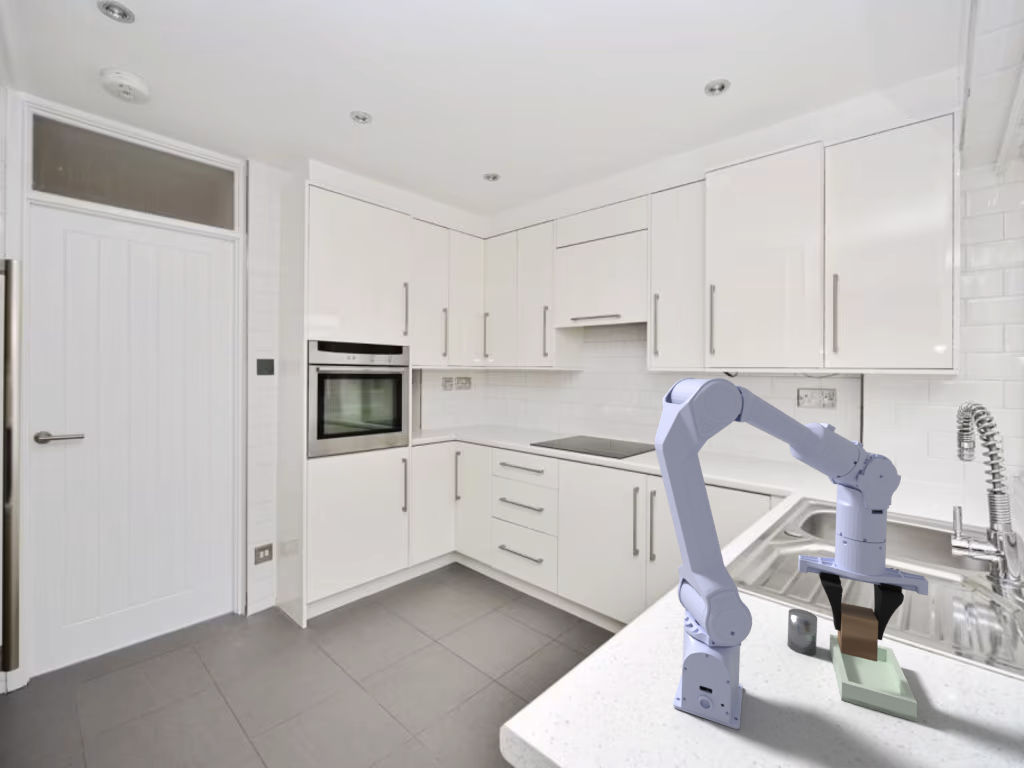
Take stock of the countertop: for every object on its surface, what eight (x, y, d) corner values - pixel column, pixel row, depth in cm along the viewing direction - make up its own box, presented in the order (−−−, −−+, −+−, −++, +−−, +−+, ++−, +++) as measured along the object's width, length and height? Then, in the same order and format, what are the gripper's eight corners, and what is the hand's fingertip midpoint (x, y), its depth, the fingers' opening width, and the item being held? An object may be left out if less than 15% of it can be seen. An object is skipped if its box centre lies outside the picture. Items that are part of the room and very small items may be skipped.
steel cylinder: (817, 658, 74) (818, 623, 74) (787, 650, 76) (789, 616, 76) (814, 645, 77) (816, 612, 77) (787, 638, 79) (788, 606, 79)
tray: (916, 722, 60) (917, 703, 60) (841, 700, 64) (842, 682, 64) (891, 664, 72) (891, 648, 72) (829, 649, 76) (830, 633, 76)
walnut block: (877, 661, 63) (878, 621, 63) (841, 653, 65) (842, 614, 65) (871, 646, 67) (872, 608, 66) (837, 639, 68) (838, 602, 68)
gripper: (918, 537, 66) (915, 632, 66) (798, 520, 72) (795, 606, 73) (934, 553, 59) (931, 658, 60) (801, 533, 66) (798, 627, 67)
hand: (857, 631), depth 66 cm, fingers closed on walnut block, 4 cm apart
